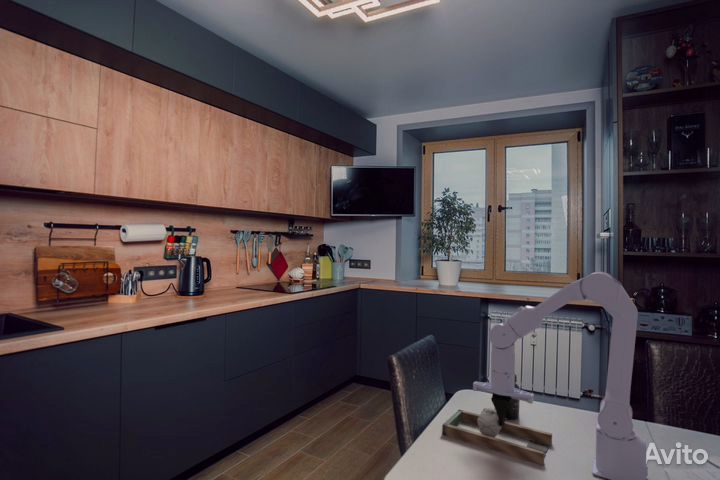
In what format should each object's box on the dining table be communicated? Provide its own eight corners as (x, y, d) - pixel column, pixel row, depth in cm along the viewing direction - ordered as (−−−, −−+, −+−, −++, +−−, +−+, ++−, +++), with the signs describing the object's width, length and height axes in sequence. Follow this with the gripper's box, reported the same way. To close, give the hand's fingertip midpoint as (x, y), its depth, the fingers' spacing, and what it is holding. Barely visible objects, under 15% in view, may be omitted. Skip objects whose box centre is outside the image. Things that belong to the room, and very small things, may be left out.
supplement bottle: (521, 421, 112) (522, 379, 113) (496, 418, 114) (497, 376, 114) (516, 411, 119) (517, 371, 119) (493, 409, 120) (494, 369, 121)
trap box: (551, 443, 100) (552, 433, 100) (543, 465, 90) (543, 454, 90) (458, 418, 113) (459, 409, 113) (442, 434, 103) (442, 424, 103)
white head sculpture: (503, 434, 104) (504, 407, 104) (498, 445, 98) (499, 417, 98) (480, 428, 107) (480, 402, 107) (473, 439, 101) (474, 411, 101)
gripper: (536, 372, 100) (535, 426, 100) (479, 362, 109) (478, 412, 108) (530, 379, 95) (529, 437, 94) (470, 368, 103) (469, 421, 102)
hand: (501, 424), depth 101 cm, fingers closed, pressing on white head sculpture
